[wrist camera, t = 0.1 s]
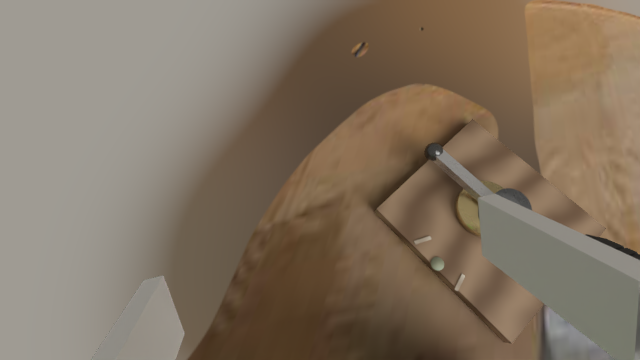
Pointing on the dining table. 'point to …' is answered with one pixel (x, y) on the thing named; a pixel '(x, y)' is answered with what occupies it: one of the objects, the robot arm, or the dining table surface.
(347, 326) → the dining table surface
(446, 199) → the board
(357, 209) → the dining table surface
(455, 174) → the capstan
